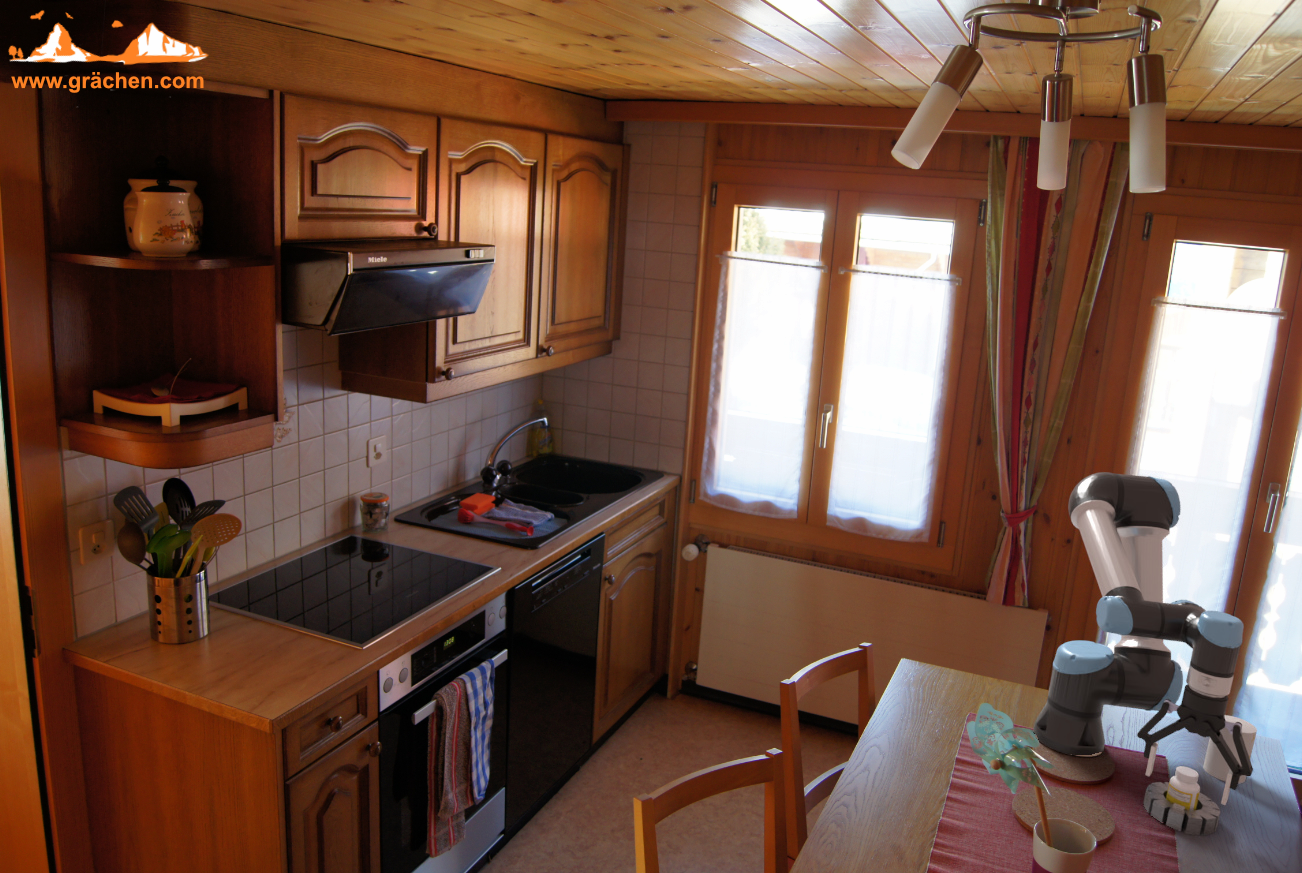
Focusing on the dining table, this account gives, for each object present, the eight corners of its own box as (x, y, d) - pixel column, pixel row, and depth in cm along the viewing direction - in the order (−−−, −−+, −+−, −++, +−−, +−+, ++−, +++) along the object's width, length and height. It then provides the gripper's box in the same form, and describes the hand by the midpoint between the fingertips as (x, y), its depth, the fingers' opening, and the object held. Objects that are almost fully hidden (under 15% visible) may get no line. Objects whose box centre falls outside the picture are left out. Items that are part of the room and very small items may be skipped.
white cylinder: (1251, 786, 204) (1263, 736, 202) (1211, 779, 206) (1222, 729, 203) (1236, 767, 212) (1247, 718, 210) (1197, 760, 213) (1208, 712, 211)
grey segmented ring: (1137, 814, 189) (1141, 796, 188) (1151, 789, 199) (1155, 772, 198) (1210, 843, 181) (1214, 824, 180) (1221, 816, 191) (1225, 798, 190)
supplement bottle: (1180, 807, 193) (1189, 763, 191) (1199, 822, 188) (1209, 778, 186) (1157, 807, 192) (1166, 764, 190) (1176, 823, 187) (1186, 779, 185)
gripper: (1134, 673, 189) (1114, 768, 193) (1279, 719, 174) (1255, 822, 178) (1142, 663, 195) (1123, 756, 199) (1283, 707, 180) (1260, 806, 184)
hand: (1185, 787), depth 188 cm, fingers open, 13 cm apart
